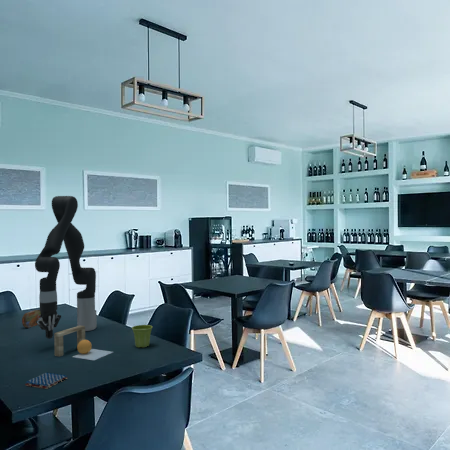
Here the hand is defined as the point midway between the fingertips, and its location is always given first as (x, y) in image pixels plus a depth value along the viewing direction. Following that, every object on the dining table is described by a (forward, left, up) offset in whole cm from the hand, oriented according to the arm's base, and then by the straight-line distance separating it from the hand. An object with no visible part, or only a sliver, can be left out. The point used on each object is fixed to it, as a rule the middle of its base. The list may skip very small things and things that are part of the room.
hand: (49, 338), depth 192 cm
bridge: (0, +13, -5) cm, 14 cm away
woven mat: (+31, +33, -5) cm, 46 cm away
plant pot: (-19, +38, -5) cm, 43 cm away
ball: (+1, +22, -2) cm, 22 cm away
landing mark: (0, +26, -5) cm, 27 cm away
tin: (-28, -44, -5) cm, 52 cm away
